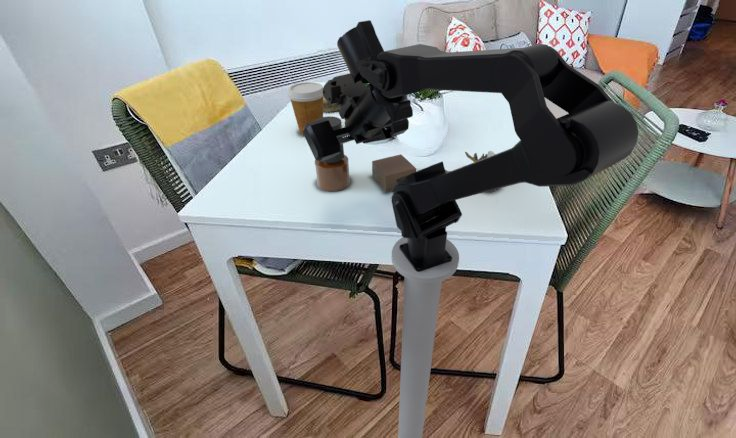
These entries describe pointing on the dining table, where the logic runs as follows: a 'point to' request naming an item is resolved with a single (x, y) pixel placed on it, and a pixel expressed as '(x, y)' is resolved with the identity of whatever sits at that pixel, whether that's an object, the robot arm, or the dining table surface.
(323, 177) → the bottle
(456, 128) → the dining table surface
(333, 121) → the cap
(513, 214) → the dining table surface
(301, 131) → the disposable coffee cup
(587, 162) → the robot arm
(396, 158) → the stand
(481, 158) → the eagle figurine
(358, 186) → the dining table surface
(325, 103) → the cake
